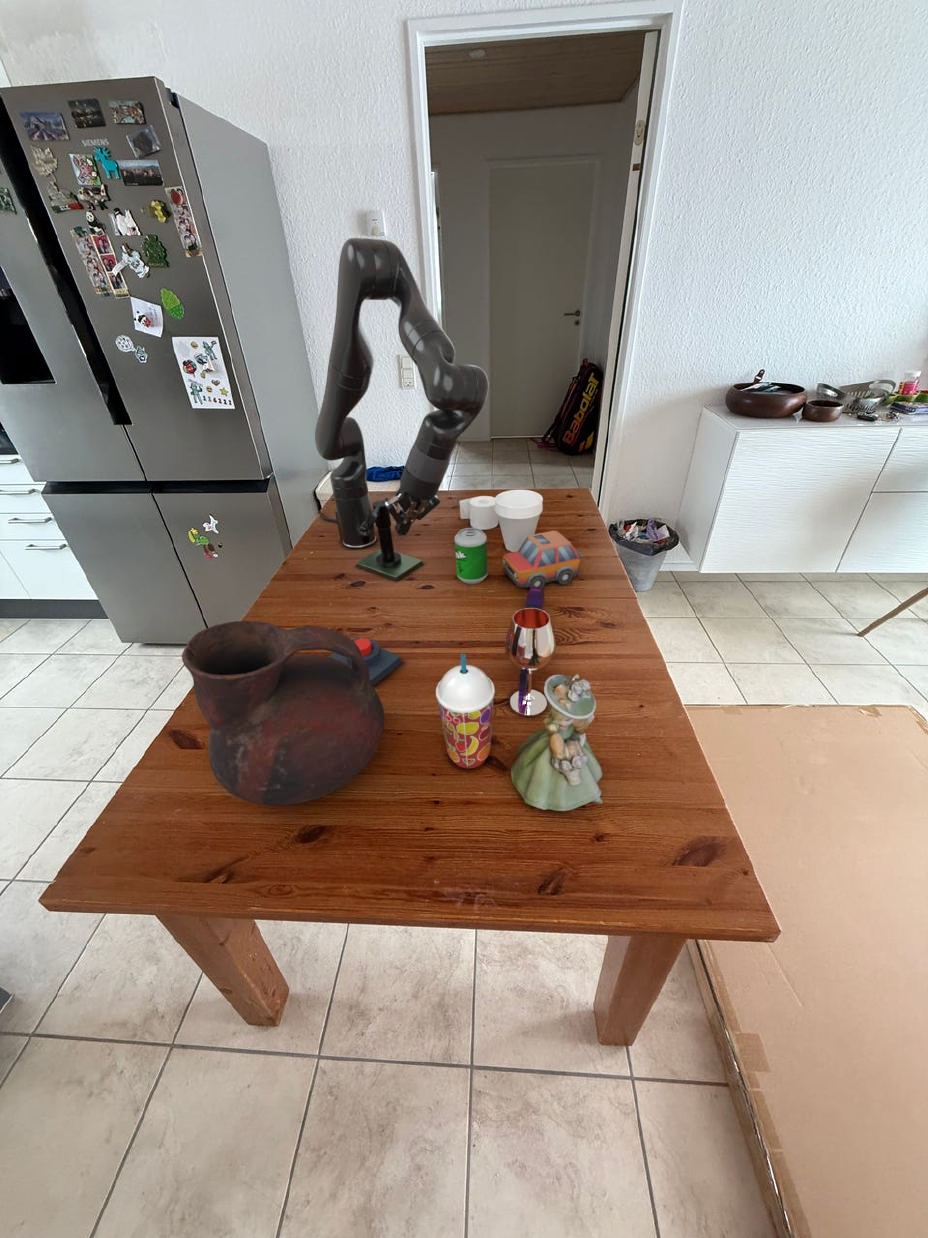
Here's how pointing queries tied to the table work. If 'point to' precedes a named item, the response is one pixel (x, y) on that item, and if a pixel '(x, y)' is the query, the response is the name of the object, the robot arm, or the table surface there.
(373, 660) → the button box
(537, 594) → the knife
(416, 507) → the robot arm
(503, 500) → the cup
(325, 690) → the jug
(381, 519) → the spout
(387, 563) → the tap base
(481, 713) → the smoothie
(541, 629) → the wineglass
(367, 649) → the button
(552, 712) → the figurine
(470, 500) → the toilet paper
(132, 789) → the table surface
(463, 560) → the soda can
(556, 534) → the toy car
